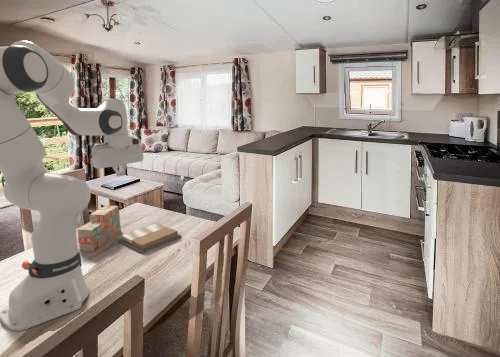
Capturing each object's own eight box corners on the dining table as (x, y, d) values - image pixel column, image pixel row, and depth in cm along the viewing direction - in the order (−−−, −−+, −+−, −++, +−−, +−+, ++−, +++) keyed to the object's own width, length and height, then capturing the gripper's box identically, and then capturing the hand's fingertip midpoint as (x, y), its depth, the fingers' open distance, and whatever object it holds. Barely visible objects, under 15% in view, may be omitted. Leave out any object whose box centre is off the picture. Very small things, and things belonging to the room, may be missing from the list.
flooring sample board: (141, 253, 128) (141, 246, 128) (118, 242, 138) (117, 235, 138) (181, 237, 144) (180, 230, 143) (157, 228, 154) (156, 222, 153)
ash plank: (131, 244, 134) (131, 240, 133) (122, 239, 138) (121, 235, 137) (167, 230, 148) (167, 227, 147) (157, 226, 152) (157, 222, 151)
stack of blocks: (94, 251, 130) (90, 222, 127) (79, 250, 131) (75, 222, 128) (121, 230, 151) (118, 205, 148) (108, 230, 152) (105, 204, 149)
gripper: (95, 145, 118) (99, 182, 121) (144, 139, 134) (146, 172, 137) (86, 143, 122) (91, 179, 125) (135, 138, 137) (138, 170, 141)
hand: (120, 175), depth 131 cm, fingers closed
